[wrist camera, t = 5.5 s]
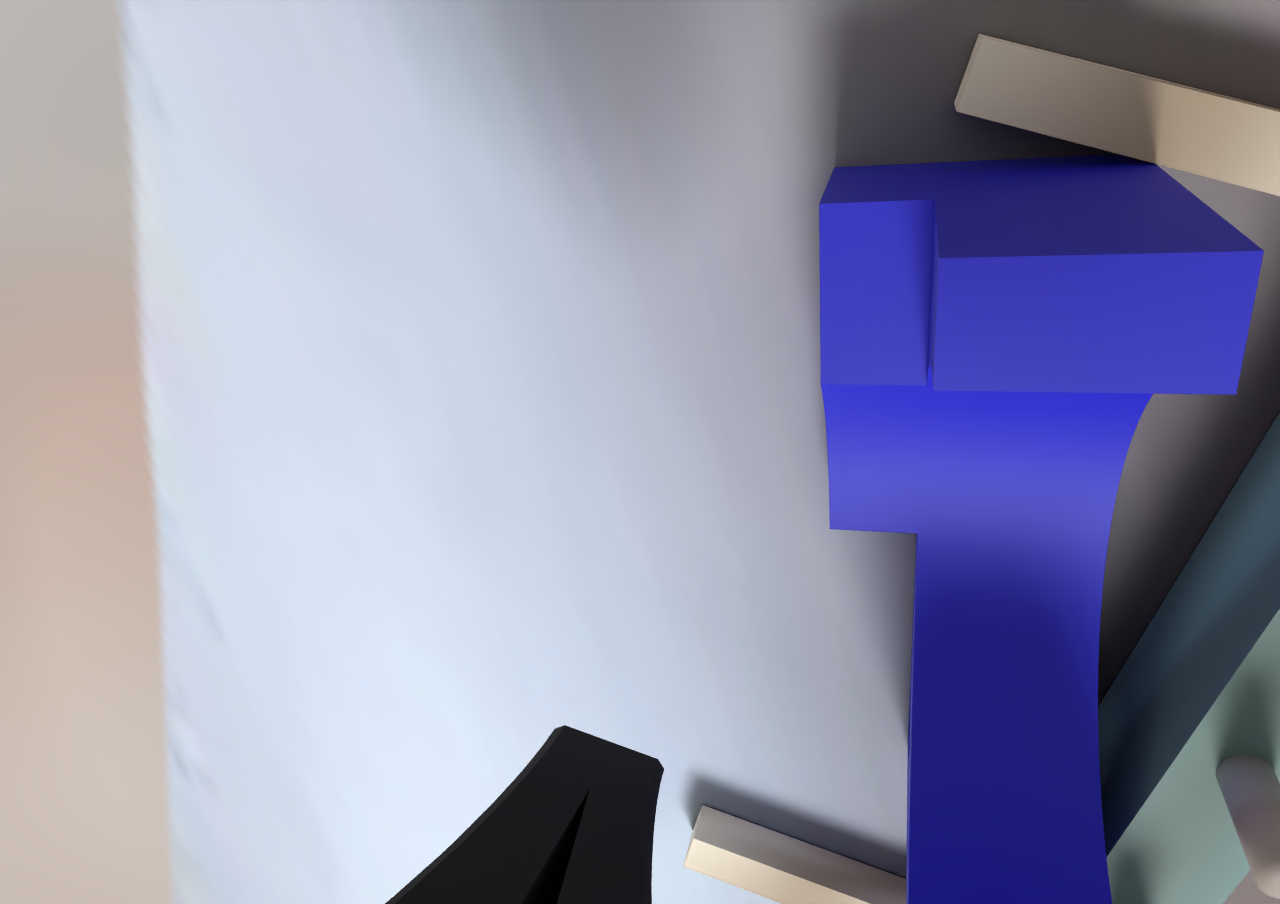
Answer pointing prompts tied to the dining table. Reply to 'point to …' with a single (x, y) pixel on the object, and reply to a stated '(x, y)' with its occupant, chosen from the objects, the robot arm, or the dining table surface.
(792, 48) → the dining table surface
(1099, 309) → the cable clip
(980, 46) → the pin bay
